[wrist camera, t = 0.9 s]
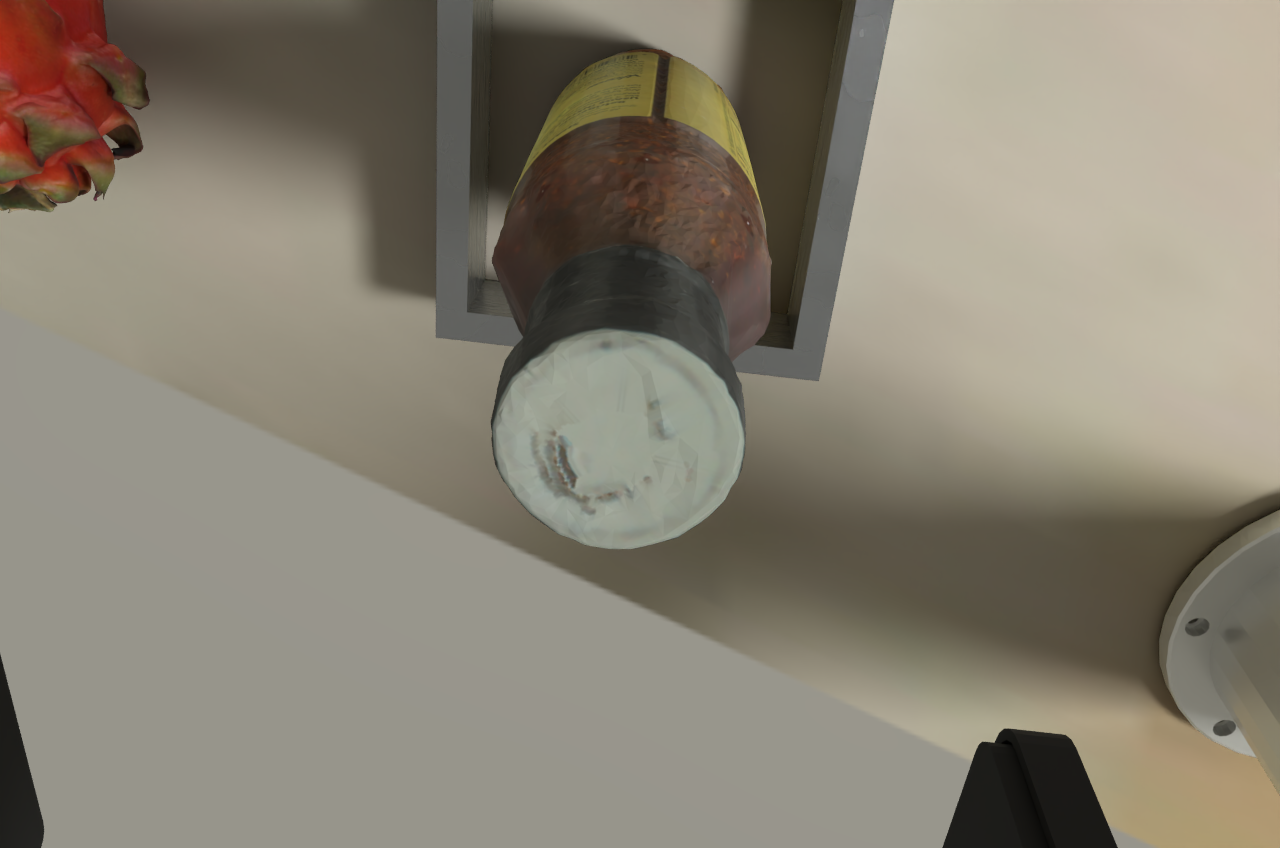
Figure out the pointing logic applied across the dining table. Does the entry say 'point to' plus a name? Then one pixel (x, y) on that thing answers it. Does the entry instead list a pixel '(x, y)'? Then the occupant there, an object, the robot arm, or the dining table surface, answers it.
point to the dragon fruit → (62, 102)
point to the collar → (803, 331)
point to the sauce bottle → (630, 305)
